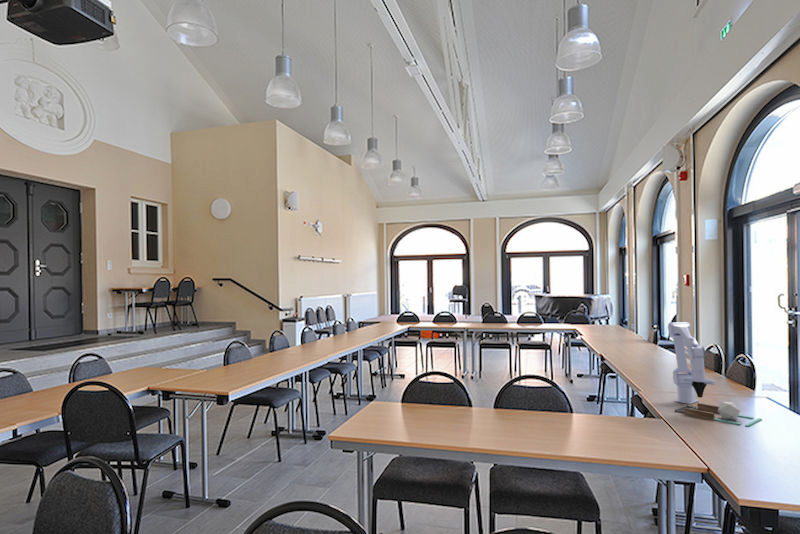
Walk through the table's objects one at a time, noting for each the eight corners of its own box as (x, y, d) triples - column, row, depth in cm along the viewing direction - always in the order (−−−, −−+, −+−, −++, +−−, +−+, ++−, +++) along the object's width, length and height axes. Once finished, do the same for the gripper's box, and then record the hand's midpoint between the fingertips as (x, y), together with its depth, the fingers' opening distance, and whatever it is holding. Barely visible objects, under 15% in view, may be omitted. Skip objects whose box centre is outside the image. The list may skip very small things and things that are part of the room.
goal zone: (727, 413, 226) (727, 412, 226) (761, 420, 214) (761, 418, 214) (713, 420, 218) (713, 418, 218) (748, 426, 206) (748, 425, 206)
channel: (699, 408, 237) (698, 402, 237) (727, 413, 226) (726, 407, 226) (684, 414, 229) (684, 408, 229) (713, 420, 218) (712, 413, 218)
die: (739, 418, 220) (724, 400, 226) (748, 414, 213) (732, 395, 218) (725, 425, 220) (710, 407, 225) (733, 421, 213) (717, 402, 218)
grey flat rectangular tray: (686, 407, 241) (686, 405, 241) (696, 408, 237) (696, 406, 237) (674, 411, 235) (674, 409, 235) (685, 413, 230) (684, 411, 230)
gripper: (678, 369, 234) (681, 395, 234) (709, 373, 222) (712, 401, 222) (685, 367, 238) (687, 393, 238) (716, 371, 226) (719, 398, 225)
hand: (700, 397), depth 230 cm, fingers closed
